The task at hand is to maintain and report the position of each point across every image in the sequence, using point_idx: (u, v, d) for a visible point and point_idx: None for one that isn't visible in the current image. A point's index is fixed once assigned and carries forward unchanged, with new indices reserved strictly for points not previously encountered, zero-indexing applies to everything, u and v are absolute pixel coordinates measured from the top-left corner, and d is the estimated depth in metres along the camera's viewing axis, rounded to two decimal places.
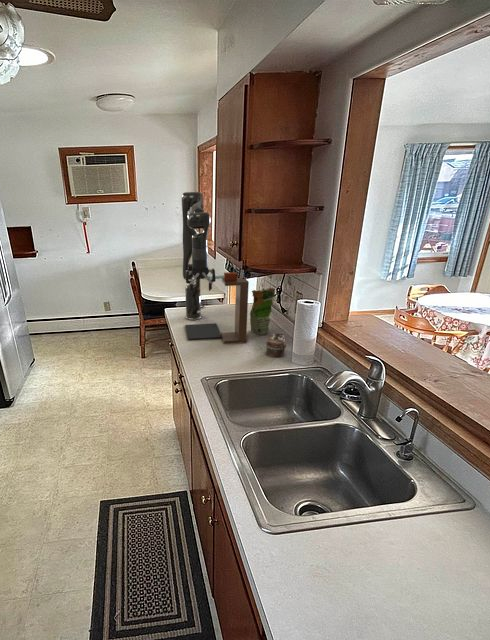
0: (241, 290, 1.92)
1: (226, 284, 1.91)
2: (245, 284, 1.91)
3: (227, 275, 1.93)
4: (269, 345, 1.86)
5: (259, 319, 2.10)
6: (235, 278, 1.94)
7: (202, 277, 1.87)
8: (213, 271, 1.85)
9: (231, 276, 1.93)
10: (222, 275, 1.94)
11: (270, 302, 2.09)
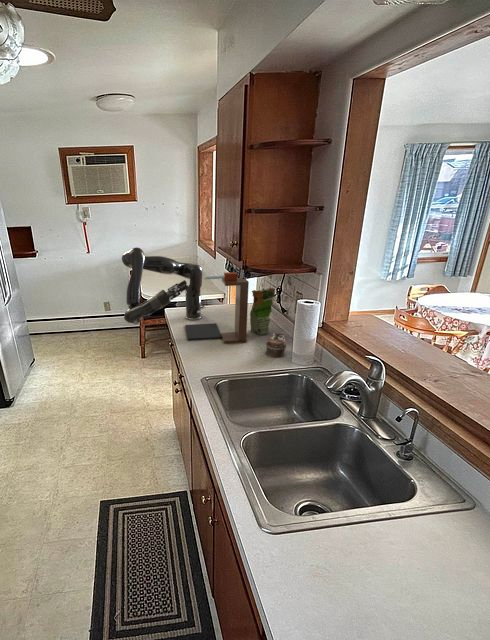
0: (241, 290, 1.92)
1: (226, 284, 1.91)
2: (245, 284, 1.91)
3: (227, 275, 1.93)
4: (269, 345, 1.86)
5: (259, 319, 2.10)
6: (235, 278, 1.94)
7: None
8: None
9: (231, 276, 1.93)
10: (222, 275, 1.94)
11: (270, 302, 2.09)
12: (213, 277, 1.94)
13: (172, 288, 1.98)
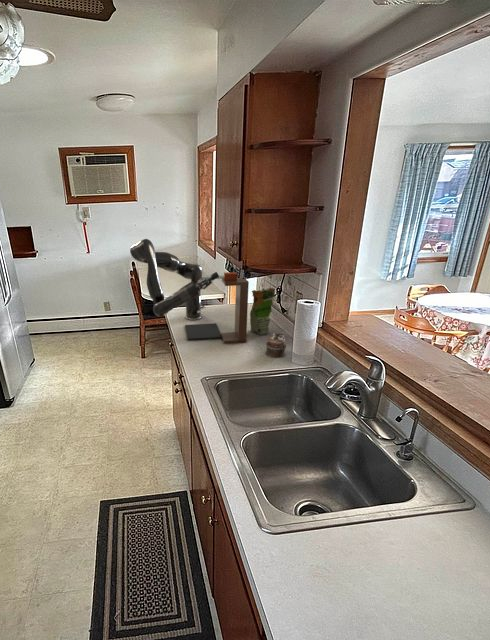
0: (241, 290, 1.92)
1: (226, 284, 1.91)
2: (245, 284, 1.91)
3: (227, 275, 1.93)
4: (269, 345, 1.86)
5: (259, 319, 2.10)
6: (235, 278, 1.94)
7: None
8: None
9: (231, 276, 1.93)
10: (222, 275, 1.94)
11: (270, 302, 2.09)
12: None
13: (201, 280, 1.96)
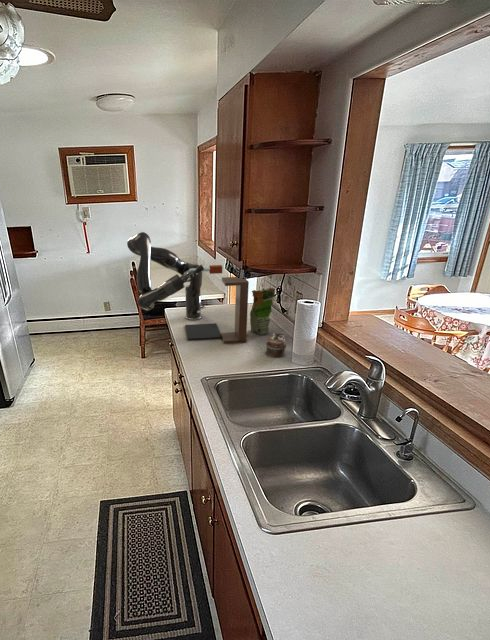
0: (241, 290, 1.92)
1: (226, 284, 1.91)
2: (245, 284, 1.91)
3: (212, 268, 1.91)
4: (269, 345, 1.86)
5: (259, 319, 2.10)
6: (220, 271, 1.92)
7: None
8: None
9: (216, 269, 1.91)
10: (207, 268, 1.93)
11: (270, 302, 2.09)
12: None
13: (186, 273, 1.94)
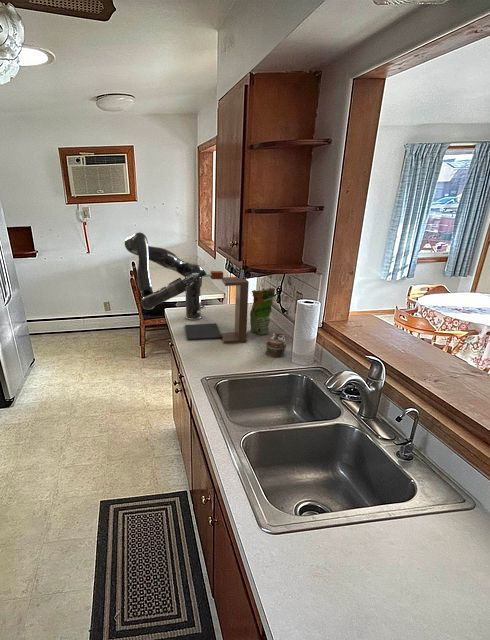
0: (241, 290, 1.92)
1: (226, 284, 1.91)
2: (245, 284, 1.91)
3: (214, 274, 2.02)
4: (269, 345, 1.86)
5: (259, 319, 2.10)
6: (221, 277, 2.03)
7: None
8: None
9: (217, 275, 2.02)
10: None
11: (270, 302, 2.09)
12: None
13: (189, 277, 2.04)
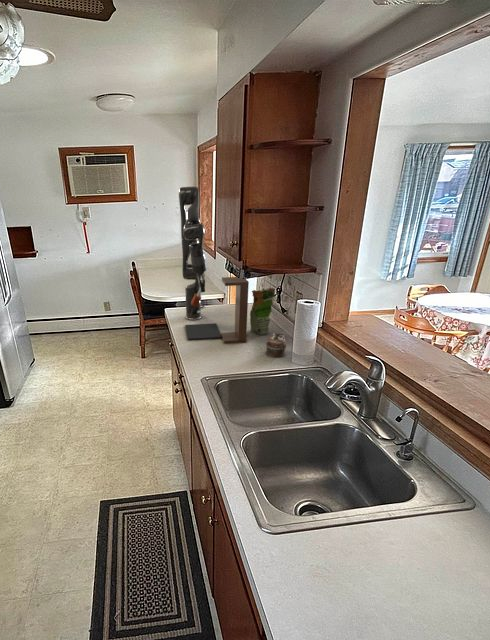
0: (241, 290, 1.92)
1: (226, 284, 1.91)
2: (245, 284, 1.91)
3: (199, 299, 2.14)
4: (269, 345, 1.86)
5: (259, 319, 2.10)
6: (193, 304, 2.16)
7: None
8: (199, 282, 2.03)
9: (197, 302, 2.15)
10: None
11: (270, 302, 2.09)
12: None
13: None
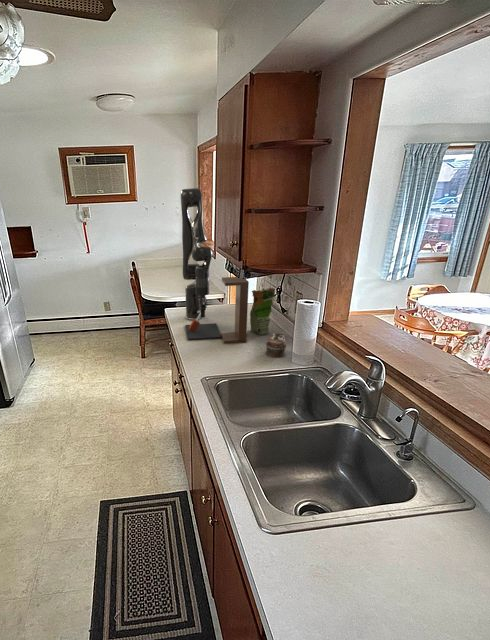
0: (241, 290, 1.92)
1: (226, 284, 1.91)
2: (245, 284, 1.91)
3: (197, 324, 2.16)
4: (269, 345, 1.86)
5: (259, 319, 2.10)
6: (191, 329, 2.17)
7: (200, 302, 2.12)
8: (201, 303, 2.07)
9: (195, 327, 2.16)
10: None
11: (270, 302, 2.09)
12: None
13: None
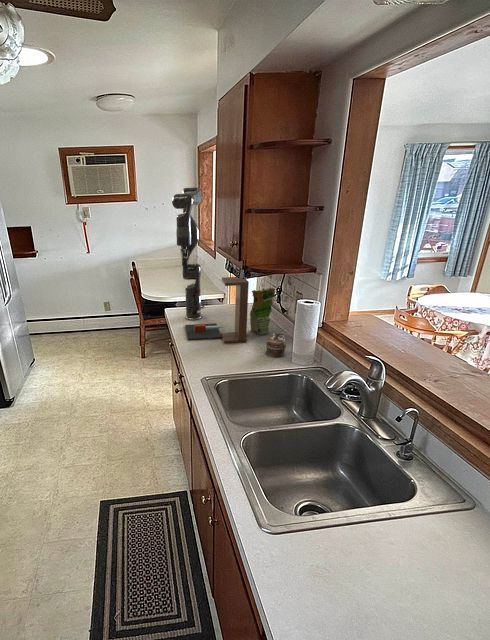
0: (241, 290, 1.92)
1: (226, 284, 1.91)
2: (245, 284, 1.91)
3: (203, 330, 2.17)
4: (269, 345, 1.86)
5: (259, 319, 2.10)
6: (196, 328, 2.17)
7: None
8: (182, 251, 1.98)
9: (199, 329, 2.17)
10: None
11: (270, 302, 2.09)
12: (215, 327, 2.18)
13: None
